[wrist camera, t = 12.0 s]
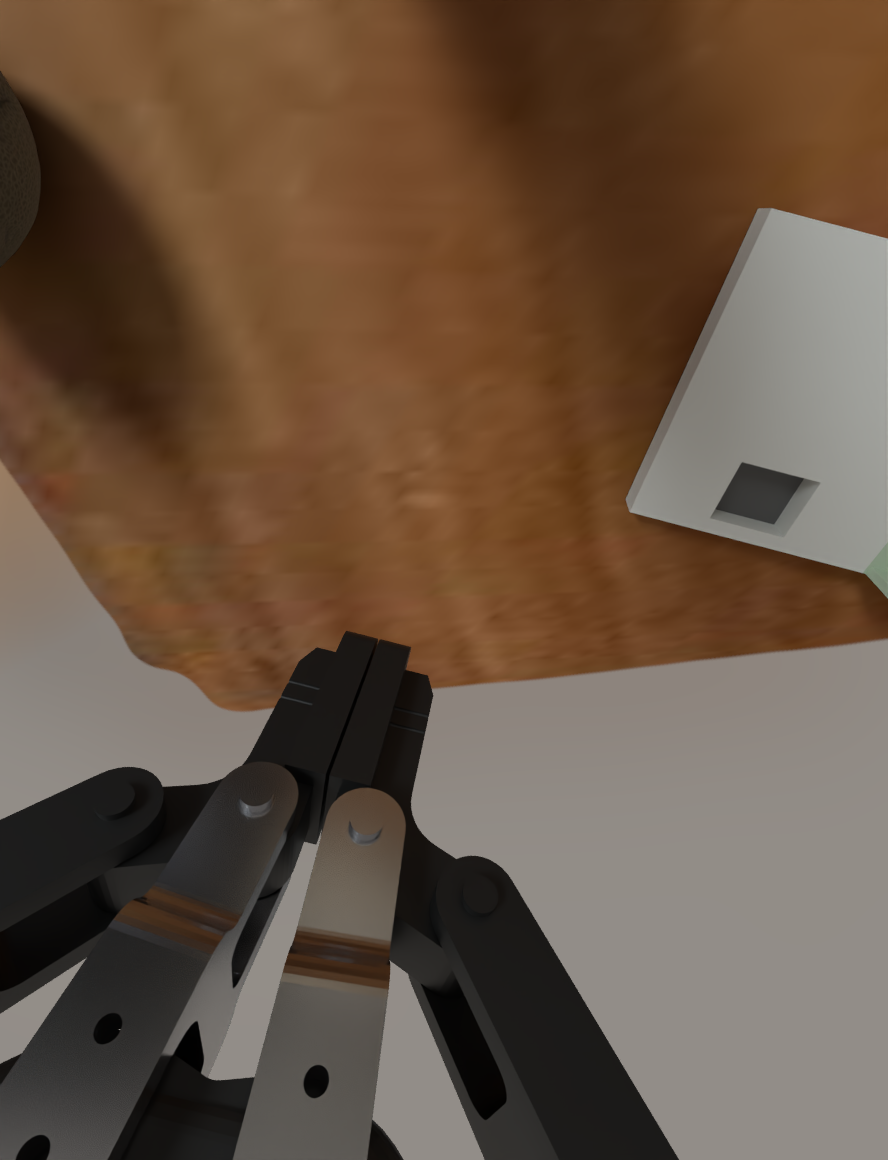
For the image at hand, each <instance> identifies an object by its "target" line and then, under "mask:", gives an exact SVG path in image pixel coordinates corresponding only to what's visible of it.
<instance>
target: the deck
mask: <svg viewBox="0 0 888 1160" xmlns="http://www.w3.org/2000/svg"><path fill="white" fill-rule="evenodd" d="M626 502H627V505H628V509H629V512H631V513H635V514H639V515H642V516H646V517H650V518H654V519H658V520H662V521H665V522H669V523H673V524H677V525H681V526H685V527H688V528H692V529H696V530H700V531H704V532H707V533H711V534H715V535H719V536H723V537H727V538H730V539H734V540H738V541H742V542H746V543H749V544H753V545H757V546H761V547H765V548H769V549H772V550H776V551H780V552H784V553H788V554H792V555H795V556H799V557H803V558H807V559H811V560H814V561H818V562H822V563H826V564H830V565H834V566H837V567H841V568H845V569H849V570H853V571H856V572H860V573H864V574H866V575H867V576H868V577H869V578H870V579H871V580H872V582H873V583H874V584H875V585H876V586H877V587H878V588H879V589H880V590H881V592H882V593H883V594H884V595H885V596H886V597H887V598H888V239H886V238H883V237H879V236H875V235H871V234H867V233H864V232H860V231H856V230H852V229H848V228H845V227H841V226H837V225H833V224H830V223H826V222H822V221H818V220H814V219H811V218H807V217H803V216H799V215H795V214H792V213H788V212H784V211H780V210H776V209H773V208H758V210H757V212H756V214H755V216H754V218H753V220H752V223H751V225H750V227H749V229H748V231H747V234H746V236H745V238H744V240H743V242H742V245H741V247H740V249H739V251H738V253H737V256H736V258H735V260H734V262H733V264H732V267H731V269H730V271H729V273H728V275H727V278H726V280H725V282H724V284H723V286H722V288H721V291H720V293H719V295H718V297H717V299H716V302H715V304H714V306H713V308H712V310H711V313H710V315H709V317H708V319H707V321H706V324H705V326H704V328H703V330H702V332H701V335H700V337H699V339H698V341H697V343H696V346H695V348H694V350H693V352H692V354H691V357H690V359H689V361H688V363H687V365H686V367H685V370H684V372H683V374H682V376H681V378H680V381H679V383H678V385H677V387H676V389H675V392H674V394H673V396H672V398H671V400H670V403H669V405H668V407H667V409H666V411H665V414H664V416H663V418H662V420H661V422H660V425H659V427H658V429H657V431H656V433H655V436H654V438H653V440H652V442H651V444H650V446H649V449H648V451H647V453H646V455H645V457H644V460H643V462H642V464H641V466H640V468H639V471H638V473H637V475H636V477H635V479H634V482H633V484H632V486H631V488H630V490H629V493H628V495H627V497H626Z"/></svg>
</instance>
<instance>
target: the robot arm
mask: <svg viewBox="0 0 888 1160" xmlns="http://www.w3.org/2000/svg"><path fill="white" fill-rule="evenodd" d="M377 644H378V645H377ZM410 650H411V647H409V646H405V645H401V644H397V643H393V642H389V641H385V640H381V639H380V640H379V643H378V639H377V638H373V637H369V636H365V635H361V634H357V633H353V632H349V631H346V632H345V634H344V635H343V638H342V640H341V642H340V644H339V646H338V649H337V651H336V652H333V651H329V650H325V649H321V648H316V649H314V650H313V651H312V652H310V653H309V654H308V655H307V656H305V657H304V658H303V659H301V660H300V661H299V663H298V665H297V666H296V668H295V670H294V672H293V674H292V676H291V678H290V680H289V683H288V684H287V685H286V687H285V689H284V691H283V693H282V695H281V698H280V699H279V701H278V702H277V704H276V706H275V708H274V710H273V712H272V714H271V716H270V718H269V720H268V721H267V723H266V725H265V727H264V729H263V731H262V733H261V735H260V737H259V739H258V741H257V742H256V744H255V746H254V748H253V750H252V752H251V754H250V755H249V757H248V758H247V760H246V761H245V763H244V764H243V765H242V766H240V767H238V768H237V769H235V770H233V771H232V772H230V773H229V774H228V775H227V776H226V777H225V778H223V779H220V780H218V781H215V782H212V783H208V784H201V785H190V786H172V787H162V785H161V782H160V781H159V779H158V778H157V777H156V776H155V775H154V774H152V773H151V772H149V771H147V770H144V769H141V768H135V767H122V768H116V769H112V770H108V771H106V772H104V773H101V774H99V775H97V776H94V777H92V778H90V779H88V780H86V781H83V782H82V783H79V784H77V785H75V786H73V787H70V788H68V789H66V790H64V791H62V792H60V793H57V794H55V795H53V796H51V797H49V798H47V799H44V800H42V801H40V802H38V803H36V804H34V805H32V806H29V807H27V808H25V809H23V810H21V811H19V812H16V813H14V814H12V815H10V816H8V817H6V818H3V819H1V820H0V1013H2V1012H4V1011H5V1010H7V1009H8V1008H10V1007H11V1006H13V1005H14V1004H16V1003H17V1002H19V1001H21V1000H22V999H24V998H25V997H27V996H28V995H30V994H31V993H33V992H34V991H36V990H37V989H39V988H40V987H42V986H44V985H45V984H47V983H48V982H50V981H51V980H53V979H54V978H56V977H57V976H59V975H61V974H62V973H64V972H65V971H66V970H68V969H70V968H71V967H73V966H74V965H76V964H78V963H79V962H81V961H82V960H84V959H85V958H86V960H85V962H84V963H83V964H82V966H81V967H80V969H79V970H78V972H77V973H76V975H75V976H74V978H73V979H72V981H71V982H70V984H69V985H68V987H67V988H66V989H65V991H64V992H63V994H62V995H61V997H60V998H59V1000H58V1001H57V1003H56V1004H55V1006H54V1007H53V1009H52V1010H51V1012H50V1013H49V1015H48V1016H47V1017H46V1019H45V1020H44V1022H43V1023H42V1025H41V1026H40V1028H39V1029H38V1031H37V1032H36V1034H35V1035H34V1037H33V1038H32V1040H31V1041H30V1042H29V1044H28V1045H27V1047H26V1048H25V1050H24V1051H23V1053H22V1054H20V1055H18V1056H16V1057H13V1058H11V1059H9V1060H7V1061H5V1062H3V1063H1V1064H0V1160H403V1158H402V1156H401V1155H400V1153H399V1151H398V1150H397V1148H396V1146H395V1145H394V1144H393V1143H392V1141H391V1140H390V1138H389V1137H388V1136H387V1135H386V1133H385V1132H384V1131H383V1129H381V1127H380V1126H378V1125H377V1124H376V1123H375V1122H374V1121H373V1120H372V1117H373V1108H374V1100H375V1093H376V1085H377V1077H378V1069H379V1061H380V1054H381V1045H382V1038H383V1030H384V1022H385V1014H386V1006H387V998H388V990H389V979H390V961H391V962H393V963H394V964H396V965H397V966H398V967H400V968H401V969H402V970H404V971H405V972H406V973H408V975H409V979H410V981H411V984H412V987H413V989H414V992H415V994H416V996H417V999H418V1001H419V1004H420V1006H421V1008H422V1011H423V1013H424V1015H425V1018H426V1020H427V1023H428V1025H429V1027H430V1030H431V1032H432V1034H433V1037H434V1039H435V1042H436V1044H437V1047H438V1049H439V1051H440V1054H441V1056H442V1058H443V1061H444V1063H445V1066H446V1068H447V1070H448V1073H449V1075H450V1078H451V1080H452V1082H453V1085H454V1087H455V1090H456V1092H457V1094H458V1097H459V1099H460V1102H461V1104H462V1106H463V1109H464V1111H465V1114H466V1116H467V1118H468V1121H469V1123H470V1125H471V1128H472V1130H473V1133H474V1135H475V1137H476V1140H477V1142H478V1145H479V1147H480V1149H481V1152H482V1154H483V1157H484V1159H485V1160H679V1159H678V1157H677V1156H676V1154H675V1152H674V1151H673V1149H672V1147H671V1146H670V1144H669V1142H668V1141H667V1139H666V1137H665V1136H664V1134H663V1132H662V1131H661V1129H660V1128H659V1126H658V1124H657V1122H656V1121H655V1119H654V1117H653V1116H652V1114H651V1112H650V1111H649V1109H648V1107H647V1106H646V1104H645V1102H644V1101H643V1099H642V1097H641V1096H640V1094H639V1092H638V1090H637V1089H636V1087H635V1086H634V1084H633V1082H632V1081H631V1079H630V1077H629V1076H628V1074H627V1072H626V1070H625V1069H624V1067H623V1065H622V1064H621V1062H620V1060H619V1059H618V1057H617V1055H616V1054H615V1052H614V1050H613V1049H612V1047H611V1045H610V1044H609V1042H608V1040H607V1039H606V1037H605V1035H604V1034H603V1032H602V1030H601V1029H600V1027H599V1025H598V1024H597V1022H596V1020H595V1019H594V1017H593V1015H592V1014H591V1012H590V1010H589V1009H588V1007H587V1005H586V1004H585V1002H584V1000H583V999H582V997H581V995H580V994H579V992H578V990H577V989H576V987H575V985H574V983H573V982H572V980H571V978H570V977H569V975H568V973H567V972H566V970H565V968H564V967H563V965H562V963H561V962H560V960H559V959H558V957H557V955H556V953H555V952H554V950H553V949H552V947H551V945H550V943H549V942H548V940H547V938H546V937H545V935H544V933H543V932H542V930H541V928H540V927H539V925H538V923H537V922H536V920H535V919H534V917H533V915H532V913H531V912H530V910H529V908H528V907H527V905H526V903H525V902H524V900H523V898H522V897H521V895H520V893H519V892H518V890H517V888H516V887H515V885H514V883H513V881H512V880H511V879H510V877H509V876H508V874H507V873H506V872H505V871H504V870H503V869H502V868H501V867H500V866H499V865H497V864H496V863H494V862H493V861H491V860H489V859H486V858H483V857H479V856H466V857H462V858H459V859H455V858H454V857H452V856H451V855H449V854H448V853H446V852H444V851H443V850H442V849H440V848H438V847H437V846H435V845H434V844H433V843H431V842H430V841H429V840H428V839H427V838H426V837H425V836H424V835H423V834H422V833H421V831H420V830H419V829H418V827H417V825H416V823H415V821H414V818H413V815H412V811H411V797H412V791H413V787H414V782H415V778H416V773H417V768H418V763H419V759H420V754H421V749H422V745H423V740H424V735H425V731H426V726H427V721H428V717H429V712H430V708H431V703H432V698H433V693H432V689H431V685H430V682H429V678H428V676H427V675H423V674H419V673H415V672H412V671H408V670H406V667H407V663H408V659H409V655H410ZM321 830H322V833H321ZM320 833H321V839H320V843H319V847H318V851H317V854H316V858H315V862H314V866H313V870H312V873H311V877H310V881H309V885H308V889H307V893H306V897H305V901H304V904H303V908H302V912H301V916H300V919H299V923H298V927H297V930H296V934H295V938H294V941H293V943H292V946H291V947H290V950H289V953H288V956H287V960H286V963H285V966H284V970H283V973H282V977H281V981H280V984H279V988H278V992H277V996H276V1000H275V1003H274V1007H273V1011H272V1014H271V1018H270V1023H269V1026H268V1030H267V1033H266V1037H265V1041H264V1044H263V1048H262V1052H261V1056H260V1059H259V1063H258V1067H257V1071H256V1074H255V1077H254V1078H253V1077H252V1078H243V1079H232V1080H221V1081H220V1080H217V1081H216V1080H211V1079H209V1078H208V1076H209V1073H210V1071H211V1069H212V1067H213V1065H214V1062H215V1060H216V1058H217V1055H218V1053H219V1051H220V1049H221V1046H222V1044H223V1041H224V1039H225V1036H226V1034H227V1031H228V1028H229V1026H230V1023H231V1020H232V1017H233V1014H234V1010H235V1006H236V1003H237V1000H238V997H239V994H240V992H241V989H242V987H243V985H244V982H245V980H246V977H247V976H248V973H249V971H250V969H251V966H252V964H253V962H254V960H255V958H256V955H257V953H258V951H259V949H260V946H261V944H262V942H263V940H264V938H265V935H266V933H267V931H268V929H269V927H270V924H271V922H272V920H273V918H274V915H275V913H276V911H277V909H278V906H279V904H280V902H281V900H282V897H283V895H284V893H285V891H286V889H287V887H288V884H289V881H290V878H291V874H292V872H293V870H294V868H295V865H296V862H297V859H298V857H299V854H300V851H301V849H302V846H303V843H304V842H308V843H312V844H317V841H318V838H319V835H320ZM389 960H390V961H389ZM118 1029H121V1030H118Z"/></svg>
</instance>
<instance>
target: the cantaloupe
mask: <svg viewBox="0 0 888 1160" xmlns="http://www.w3.org/2000/svg"><path fill="white" fill-rule="evenodd" d="M40 189H41V171H40V164H39V159H38V154H37V149H36V144H35V140H34V137H33V134H32V131H31V128H30V125H29V122H28V120H27V118H26V115H25V113H24V111H23V109H22V107H21V105H20V103H19V101H18V99H17V98H16V96H15V94H14V92H13V91H12V89H11V87H10V86H9V84H8V82H7V81H6V79H5V77H4V76H3V74H2V73H1V71H0V267H1V266H2V265H3V264H4V263H5V262H6V261H7V260H8V259H9V258H10V257H11V256H12V255H13V254H14V253H15V252H16V251H17V250H18V248H19V247H20V245H21V244H22V242H23V241H24V239H25V238H26V236H27V234H28V233H29V231H30V229H31V227H32V225H33V223H34V221H35V218H36V215H37V212H38V206H39V199H40Z"/></svg>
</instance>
